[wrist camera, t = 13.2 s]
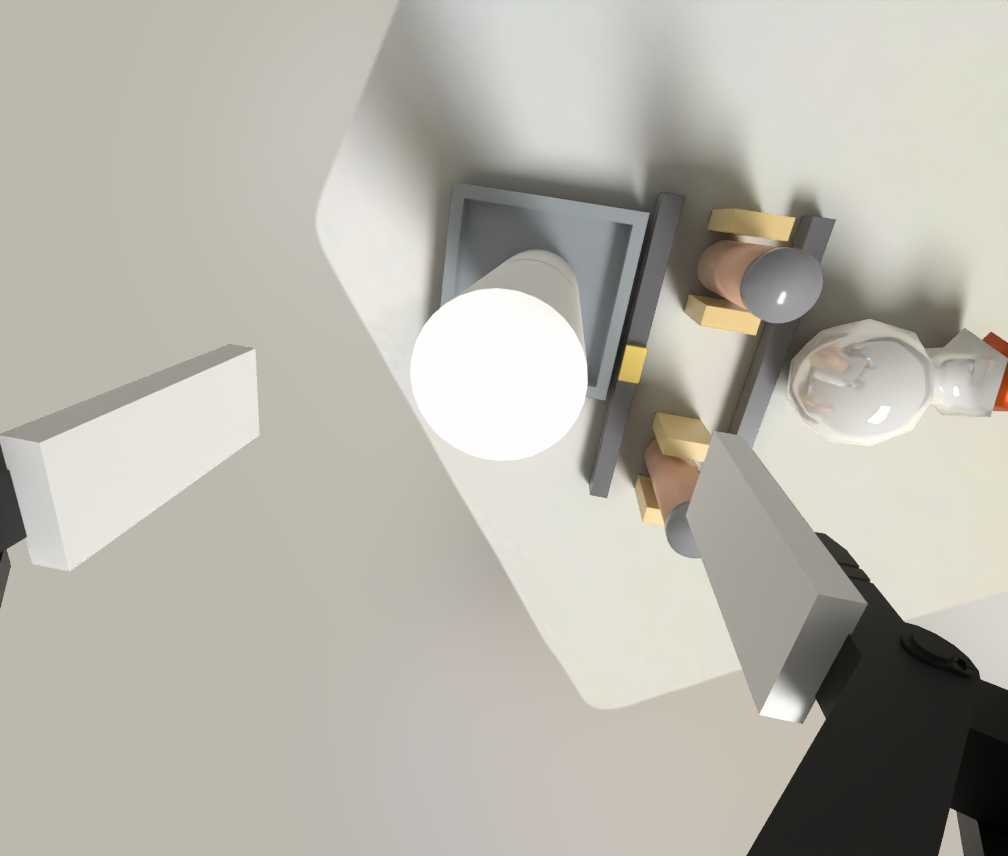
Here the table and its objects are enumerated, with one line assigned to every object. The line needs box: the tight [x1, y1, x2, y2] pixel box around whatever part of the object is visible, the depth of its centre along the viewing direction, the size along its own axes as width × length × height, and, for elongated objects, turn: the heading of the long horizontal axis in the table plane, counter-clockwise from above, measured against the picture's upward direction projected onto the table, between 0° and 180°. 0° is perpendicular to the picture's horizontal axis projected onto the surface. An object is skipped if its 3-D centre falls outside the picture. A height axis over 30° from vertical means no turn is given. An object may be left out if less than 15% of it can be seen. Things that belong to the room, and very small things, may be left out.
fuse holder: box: [589, 193, 836, 526], centre depth 43 cm, size 26×13×6 cm, turn 172°
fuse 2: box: [697, 240, 823, 323], centre depth 36 cm, size 4×4×13 cm
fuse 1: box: [644, 439, 701, 558], centre depth 43 cm, size 4×4×13 cm
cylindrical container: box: [410, 249, 588, 461], centre depth 32 cm, size 7×7×25 cm
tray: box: [440, 182, 650, 400], centre depth 43 cm, size 15×15×2 cm
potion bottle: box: [786, 319, 1008, 446], centre depth 40 cm, size 9×10×15 cm
